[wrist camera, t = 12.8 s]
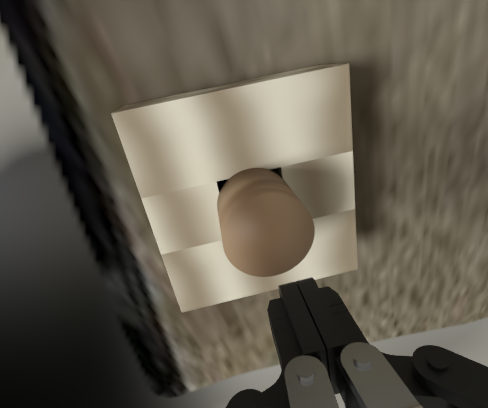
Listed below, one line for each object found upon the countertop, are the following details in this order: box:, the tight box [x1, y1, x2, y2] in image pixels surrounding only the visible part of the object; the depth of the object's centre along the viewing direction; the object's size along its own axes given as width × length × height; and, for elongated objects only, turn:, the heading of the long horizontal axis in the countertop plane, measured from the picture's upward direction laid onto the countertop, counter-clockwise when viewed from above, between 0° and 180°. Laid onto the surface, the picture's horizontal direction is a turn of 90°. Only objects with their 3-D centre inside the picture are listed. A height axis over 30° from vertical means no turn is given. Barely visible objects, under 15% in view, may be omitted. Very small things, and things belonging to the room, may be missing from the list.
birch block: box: [111, 64, 358, 312], centre depth 25 cm, size 15×16×5 cm
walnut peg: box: [217, 168, 315, 277], centre depth 22 cm, size 5×5×10 cm
